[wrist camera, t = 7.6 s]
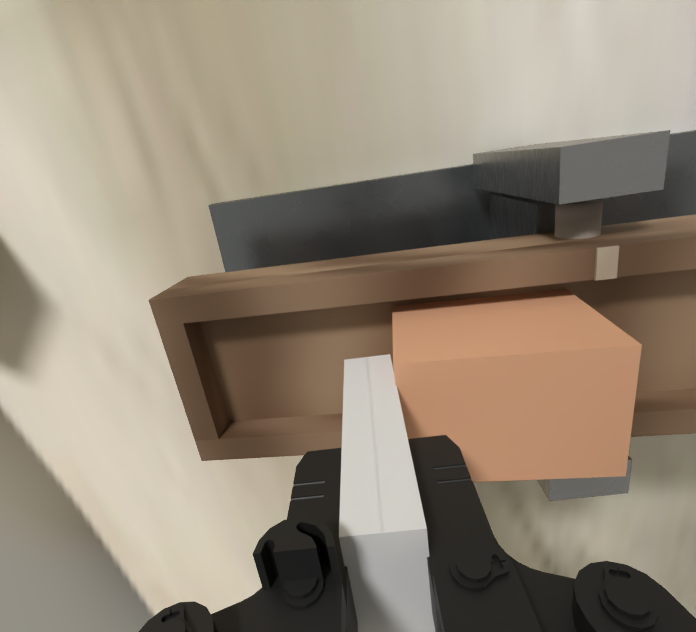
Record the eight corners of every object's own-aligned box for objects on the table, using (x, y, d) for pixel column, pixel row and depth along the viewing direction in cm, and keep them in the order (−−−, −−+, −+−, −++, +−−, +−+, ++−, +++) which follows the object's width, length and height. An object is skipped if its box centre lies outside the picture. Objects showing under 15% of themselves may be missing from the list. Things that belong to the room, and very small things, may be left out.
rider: (402, 400, 16) (406, 484, 12) (392, 306, 15) (393, 364, 11) (561, 389, 15) (625, 476, 11) (567, 289, 14) (641, 344, 10)
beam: (234, 436, 20) (207, 483, 17) (180, 251, 17) (137, 270, 14) (970, 389, 16) (1100, 441, 13) (1083, 131, 13) (1288, 123, 10)
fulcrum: (263, 404, 26) (216, 535, 17) (210, 194, 22) (106, 216, 12) (758, 344, 24) (1004, 453, 15) (811, 101, 20) (1209, 47, 11)
